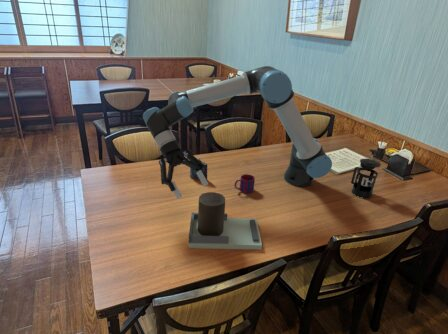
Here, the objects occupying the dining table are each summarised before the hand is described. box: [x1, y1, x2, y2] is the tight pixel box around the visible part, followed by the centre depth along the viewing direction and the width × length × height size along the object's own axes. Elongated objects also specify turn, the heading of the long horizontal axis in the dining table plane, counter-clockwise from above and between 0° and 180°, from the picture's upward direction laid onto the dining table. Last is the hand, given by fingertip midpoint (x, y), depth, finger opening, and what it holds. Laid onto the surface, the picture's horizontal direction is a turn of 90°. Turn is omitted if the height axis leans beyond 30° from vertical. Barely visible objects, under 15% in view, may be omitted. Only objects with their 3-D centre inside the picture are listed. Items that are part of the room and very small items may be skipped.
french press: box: [350, 148, 382, 199], centre depth 146 cm, size 12×9×23 cm
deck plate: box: [188, 212, 263, 251], centre depth 115 cm, size 26×16×4 cm, turn 91°
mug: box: [234, 173, 256, 194], centre depth 146 cm, size 7×10×7 cm
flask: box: [189, 158, 208, 181], centre depth 154 cm, size 9×3×11 cm, turn 71°
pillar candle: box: [197, 191, 226, 236], centre depth 112 cm, size 10×10×15 cm
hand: (193, 191), depth 119 cm, fingers open, 13 cm apart
